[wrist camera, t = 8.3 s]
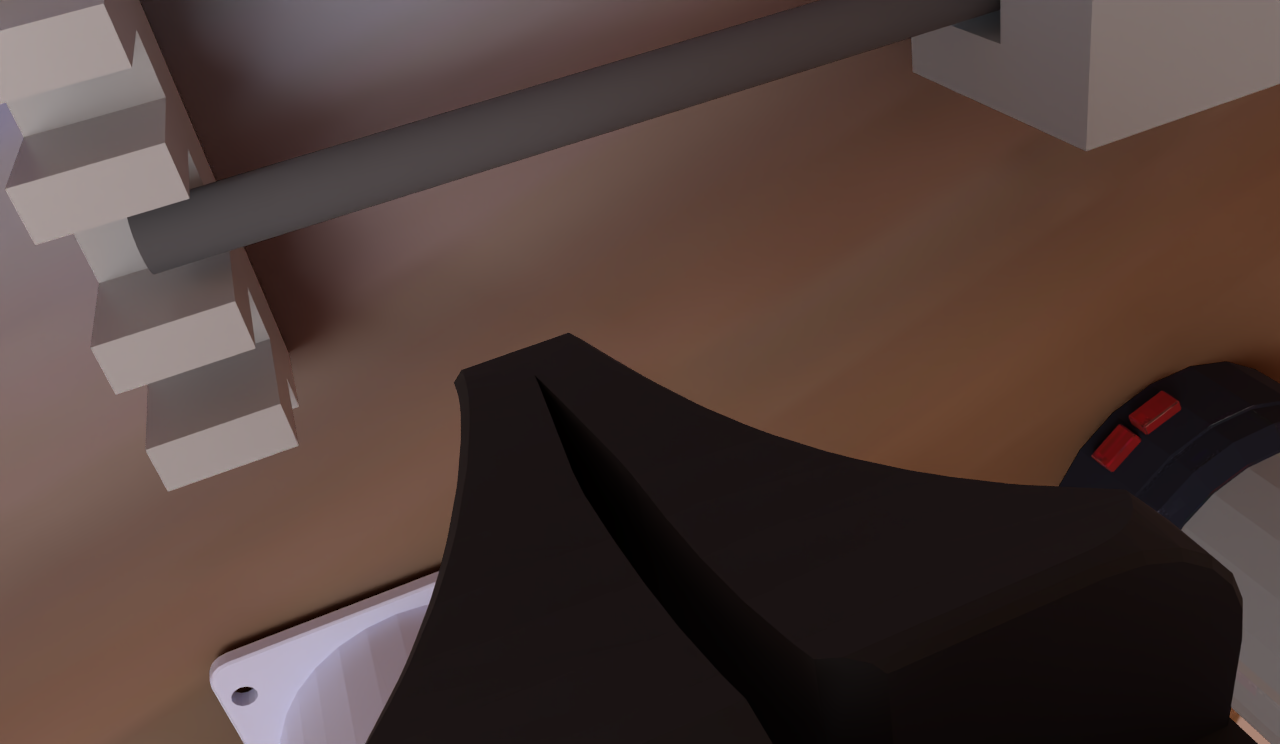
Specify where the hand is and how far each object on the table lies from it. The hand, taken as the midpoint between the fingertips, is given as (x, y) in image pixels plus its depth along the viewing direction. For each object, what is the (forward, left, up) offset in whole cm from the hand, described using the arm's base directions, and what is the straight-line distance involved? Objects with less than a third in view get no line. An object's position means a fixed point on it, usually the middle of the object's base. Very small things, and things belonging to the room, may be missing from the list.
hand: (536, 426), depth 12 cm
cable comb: (+1, +4, -9) cm, 10 cm away
